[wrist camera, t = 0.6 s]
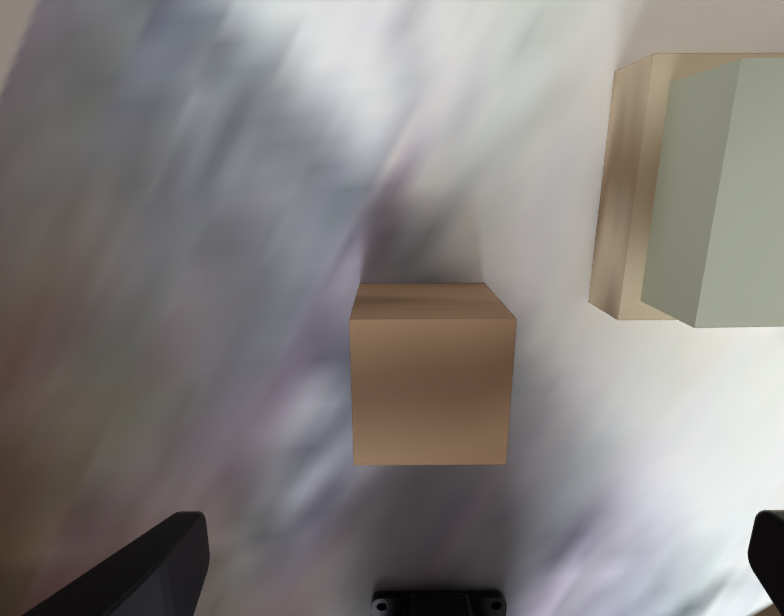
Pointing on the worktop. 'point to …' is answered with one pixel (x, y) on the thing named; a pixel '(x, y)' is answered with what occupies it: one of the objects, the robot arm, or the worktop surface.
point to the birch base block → (637, 176)
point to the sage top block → (721, 199)
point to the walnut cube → (430, 374)
